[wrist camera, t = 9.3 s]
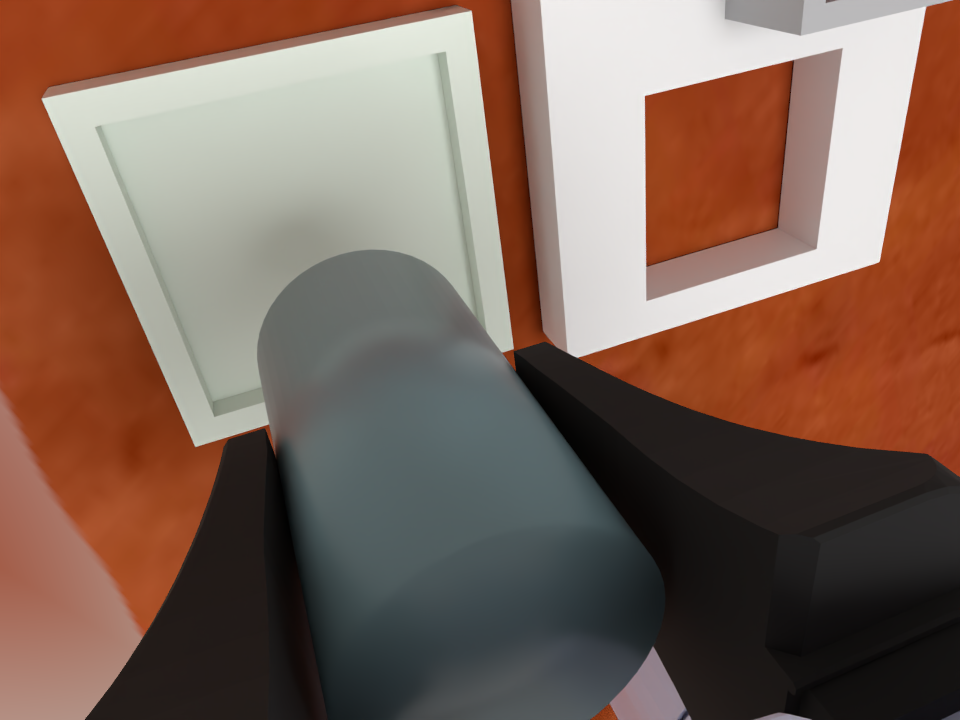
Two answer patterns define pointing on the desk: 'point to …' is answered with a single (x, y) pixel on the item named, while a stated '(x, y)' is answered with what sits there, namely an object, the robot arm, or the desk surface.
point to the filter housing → (621, 149)
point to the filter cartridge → (441, 510)
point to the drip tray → (283, 187)
